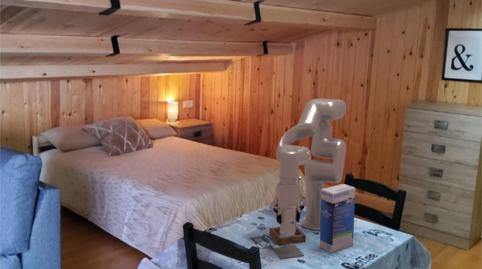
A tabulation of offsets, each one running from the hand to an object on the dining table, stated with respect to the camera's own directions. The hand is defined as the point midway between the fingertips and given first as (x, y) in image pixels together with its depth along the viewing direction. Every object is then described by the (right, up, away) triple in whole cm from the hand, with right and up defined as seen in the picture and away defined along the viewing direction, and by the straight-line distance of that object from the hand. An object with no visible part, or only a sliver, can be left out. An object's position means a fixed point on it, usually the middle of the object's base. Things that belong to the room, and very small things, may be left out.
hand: (288, 221), depth 197 cm
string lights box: (+21, -12, +8) cm, 26 cm away
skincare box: (0, -5, +1) cm, 5 cm away
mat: (0, -13, +3) cm, 13 cm away
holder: (+1, -10, +17) cm, 20 cm away
